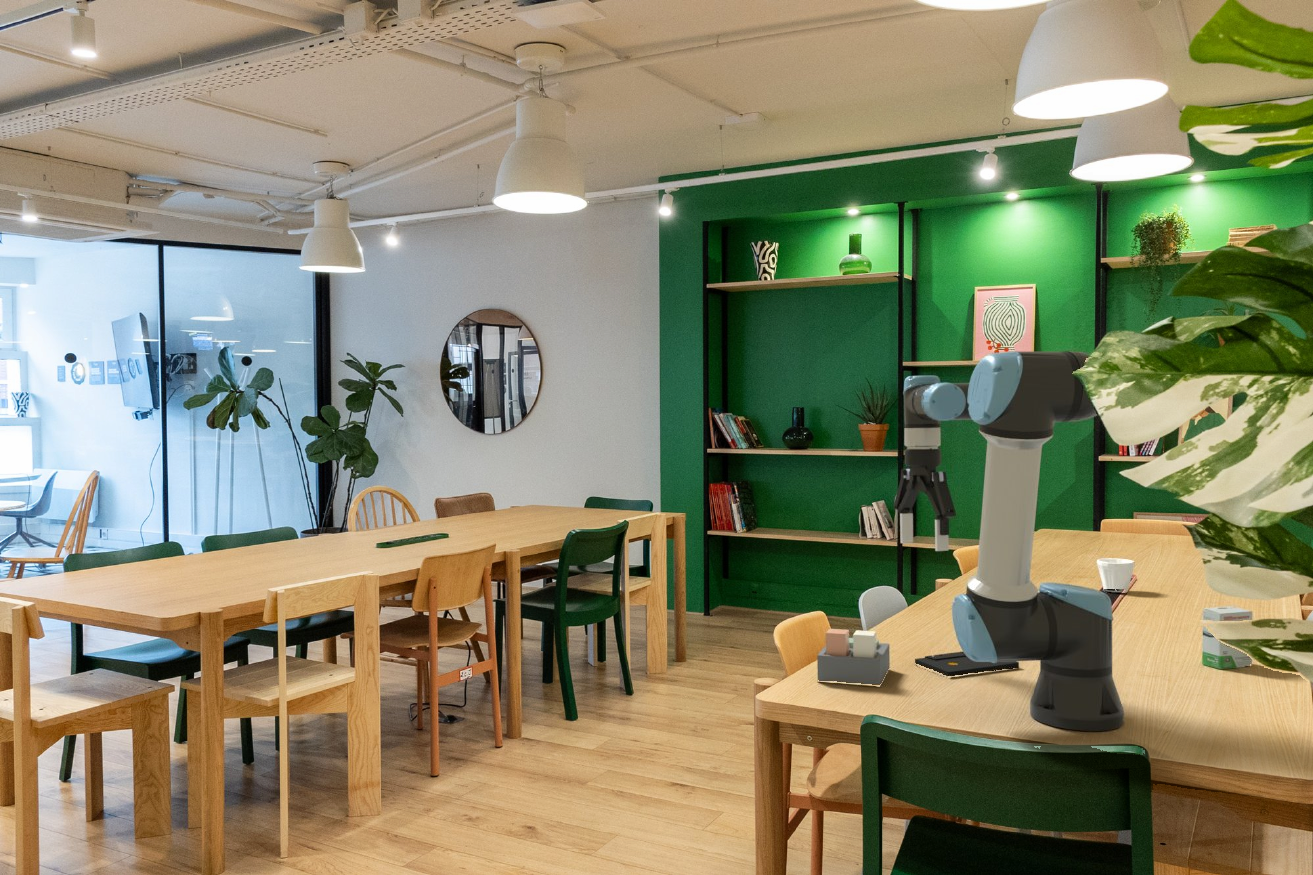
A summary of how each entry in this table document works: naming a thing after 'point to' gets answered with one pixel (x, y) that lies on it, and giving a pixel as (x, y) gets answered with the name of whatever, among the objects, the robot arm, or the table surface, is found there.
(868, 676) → the grey open box
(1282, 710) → the table surface
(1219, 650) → the ink box
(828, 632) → the pink block
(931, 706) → the table surface
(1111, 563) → the cup
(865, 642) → the cream block
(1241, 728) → the table surface
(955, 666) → the black flat panel
